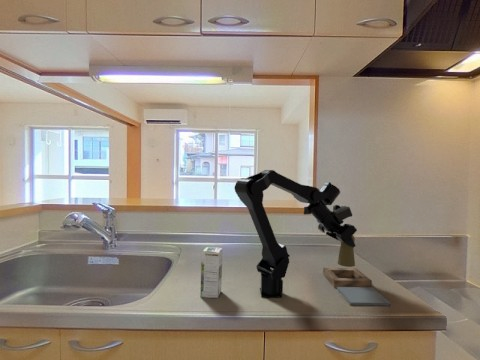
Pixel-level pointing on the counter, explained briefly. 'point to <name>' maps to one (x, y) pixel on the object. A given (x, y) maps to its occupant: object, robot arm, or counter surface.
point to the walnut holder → (357, 281)
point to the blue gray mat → (362, 296)
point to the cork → (346, 255)
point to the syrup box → (211, 272)
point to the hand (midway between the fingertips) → (350, 244)
